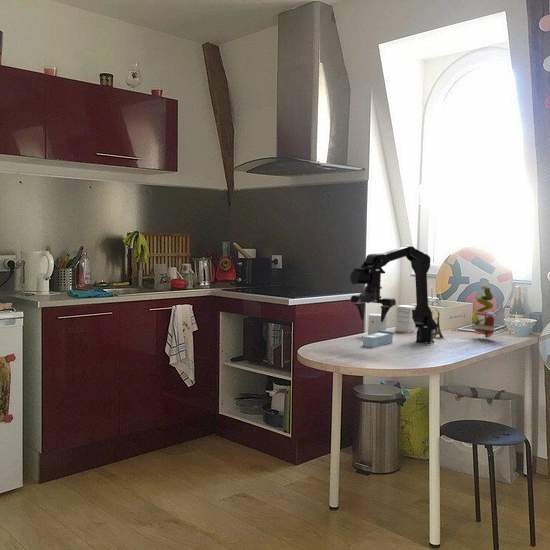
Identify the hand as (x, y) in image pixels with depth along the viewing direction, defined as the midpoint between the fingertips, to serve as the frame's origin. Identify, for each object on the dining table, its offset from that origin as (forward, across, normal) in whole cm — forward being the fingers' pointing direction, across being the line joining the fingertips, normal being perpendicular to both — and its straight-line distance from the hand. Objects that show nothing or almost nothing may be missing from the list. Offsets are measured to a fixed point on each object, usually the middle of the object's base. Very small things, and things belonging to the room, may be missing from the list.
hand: (372, 320), depth 270 cm
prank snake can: (+11, +29, +57) cm, 65 cm away
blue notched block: (+11, 0, +9) cm, 14 cm away
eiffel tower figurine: (+12, +12, +43) cm, 46 cm away
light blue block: (+11, 0, 0) cm, 11 cm away
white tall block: (+11, -7, +50) cm, 52 cm away
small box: (+11, -9, +23) cm, 27 cm away
